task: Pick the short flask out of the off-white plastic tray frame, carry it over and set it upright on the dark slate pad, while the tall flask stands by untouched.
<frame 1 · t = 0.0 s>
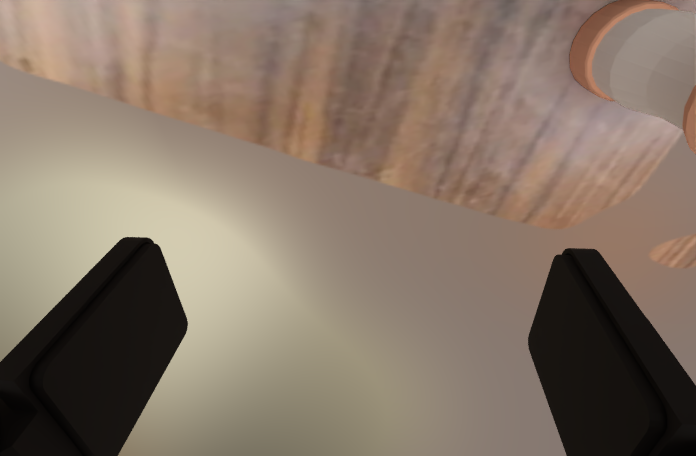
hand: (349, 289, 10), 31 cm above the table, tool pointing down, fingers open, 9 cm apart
salt shaker 2: (614, 47, 34), on the table
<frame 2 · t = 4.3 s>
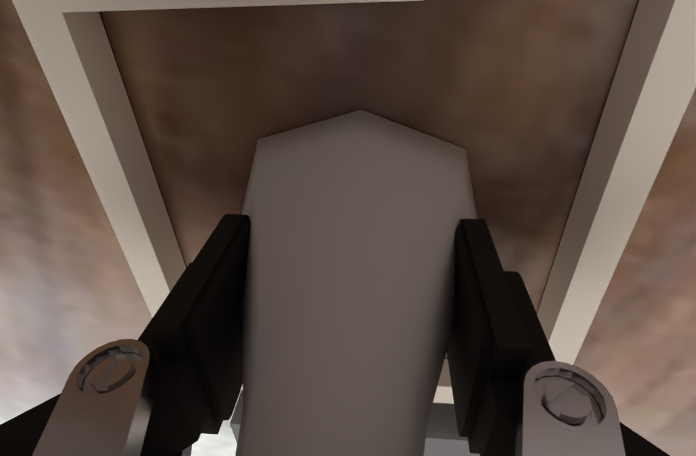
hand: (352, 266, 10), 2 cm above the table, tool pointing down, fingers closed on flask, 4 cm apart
tray frame: (357, 226, 12), on the table
flask: (358, 221, 12), on the table, touching gripper
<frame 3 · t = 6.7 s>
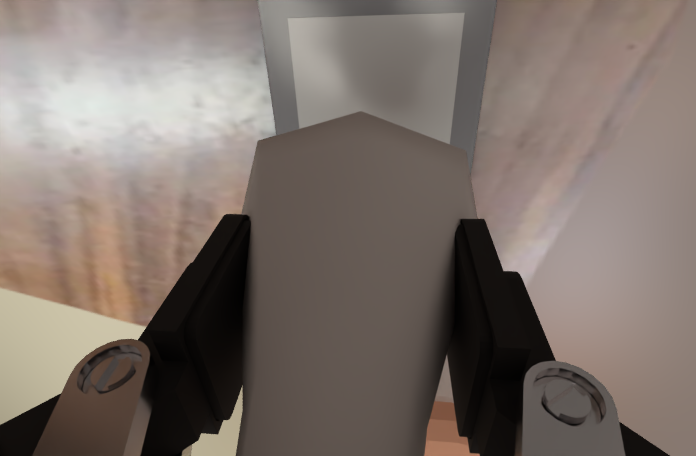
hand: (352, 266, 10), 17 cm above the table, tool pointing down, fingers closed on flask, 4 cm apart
slate pad: (375, 94, 24), on the table
salt shaker 2: (414, 238, 30), on the table
flask: (358, 222, 12), point 15 cm above the table, touching gripper
when the fingers open (5 cm above the table, at t = 9.5 s): flask stays where it is, resting on slate pad.
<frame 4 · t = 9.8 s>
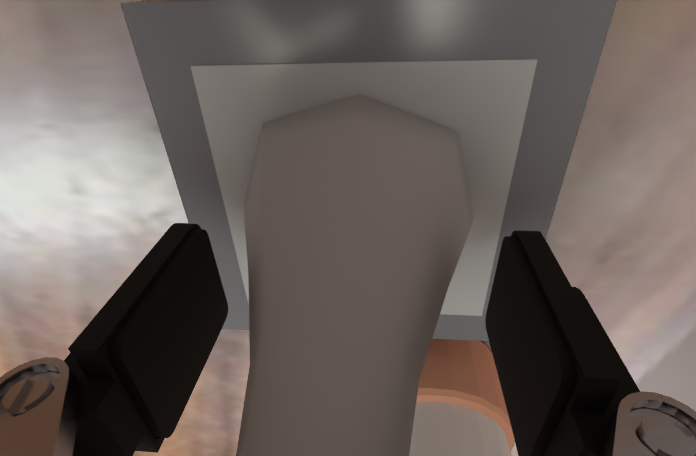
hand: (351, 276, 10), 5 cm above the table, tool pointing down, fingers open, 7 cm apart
slate pad: (363, 181, 14), on the table
salt shaker 2: (424, 370, 20), on the table
flask: (357, 204, 13), point 2 cm above the table, touching slate pad
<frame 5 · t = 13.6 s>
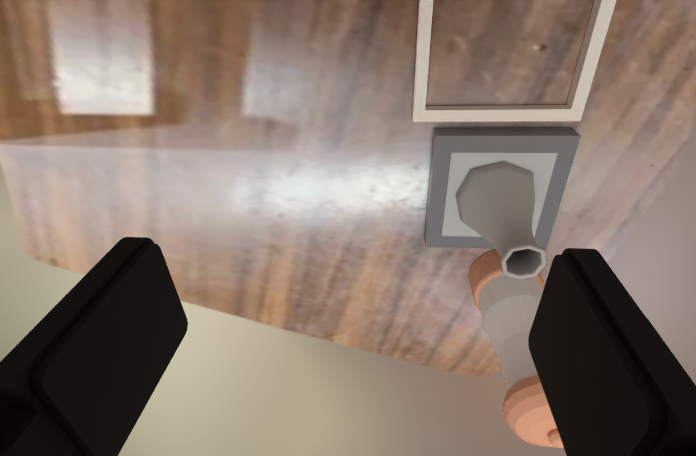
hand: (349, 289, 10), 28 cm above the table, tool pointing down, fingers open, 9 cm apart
slate pad: (490, 187, 39), on the table
tray frame: (506, 29, 31), on the table
salt shaker 2: (501, 272, 45), on the table
flask: (493, 195, 37), point 2 cm above the table, touching slate pad
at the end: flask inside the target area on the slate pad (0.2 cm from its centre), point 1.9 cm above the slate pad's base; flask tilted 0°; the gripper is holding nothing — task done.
